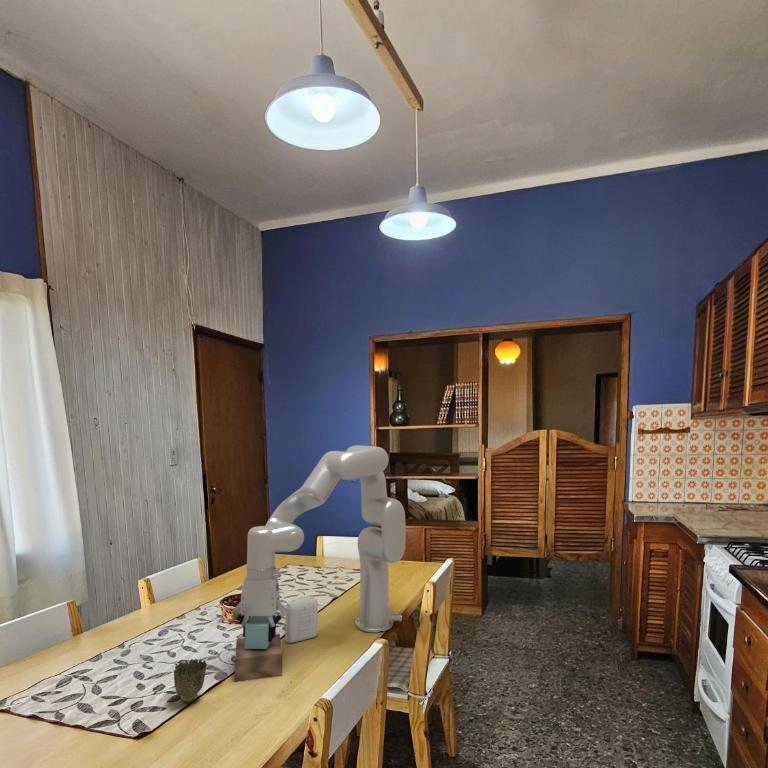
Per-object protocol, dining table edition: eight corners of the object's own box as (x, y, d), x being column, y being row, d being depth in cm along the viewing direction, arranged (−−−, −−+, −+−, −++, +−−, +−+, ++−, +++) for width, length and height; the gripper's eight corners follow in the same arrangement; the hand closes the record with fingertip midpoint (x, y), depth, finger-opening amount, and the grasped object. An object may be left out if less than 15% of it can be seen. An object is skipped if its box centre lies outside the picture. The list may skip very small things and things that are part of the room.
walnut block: (279, 655, 138) (279, 633, 138) (281, 676, 126) (282, 653, 127) (236, 660, 134) (236, 638, 135) (234, 683, 123) (235, 659, 123)
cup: (178, 692, 118) (179, 658, 119) (209, 690, 119) (210, 657, 119) (167, 710, 111) (168, 674, 111) (199, 708, 111) (201, 673, 112)
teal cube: (272, 638, 134) (273, 616, 134) (266, 649, 128) (267, 625, 128) (251, 638, 134) (252, 616, 134) (244, 648, 128) (245, 625, 128)
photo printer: (313, 631, 152) (314, 592, 153) (319, 636, 149) (319, 596, 150) (283, 639, 147) (283, 598, 148) (288, 645, 143) (289, 603, 144)
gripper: (294, 568, 136) (293, 634, 134) (235, 567, 136) (233, 632, 135) (287, 577, 128) (286, 646, 127) (225, 576, 129) (223, 645, 128)
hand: (259, 638), depth 131 cm, fingers closed on teal cube, 6 cm apart
